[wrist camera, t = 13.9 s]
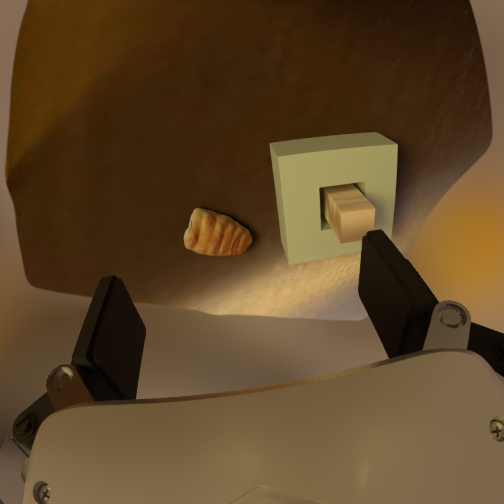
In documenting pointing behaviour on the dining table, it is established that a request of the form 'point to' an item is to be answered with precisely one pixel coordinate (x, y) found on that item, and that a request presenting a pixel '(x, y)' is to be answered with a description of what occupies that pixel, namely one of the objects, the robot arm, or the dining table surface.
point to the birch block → (347, 212)
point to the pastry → (215, 234)
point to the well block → (330, 174)
